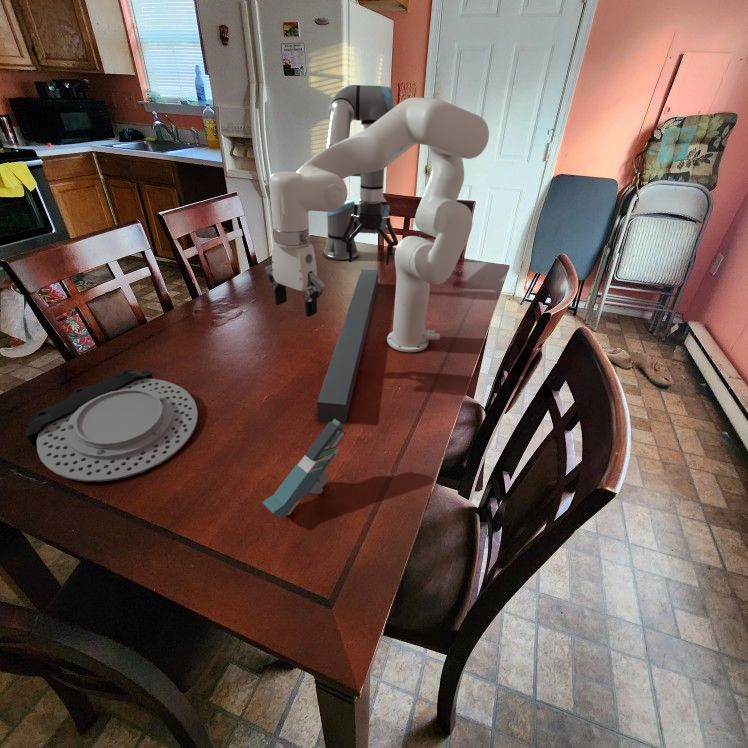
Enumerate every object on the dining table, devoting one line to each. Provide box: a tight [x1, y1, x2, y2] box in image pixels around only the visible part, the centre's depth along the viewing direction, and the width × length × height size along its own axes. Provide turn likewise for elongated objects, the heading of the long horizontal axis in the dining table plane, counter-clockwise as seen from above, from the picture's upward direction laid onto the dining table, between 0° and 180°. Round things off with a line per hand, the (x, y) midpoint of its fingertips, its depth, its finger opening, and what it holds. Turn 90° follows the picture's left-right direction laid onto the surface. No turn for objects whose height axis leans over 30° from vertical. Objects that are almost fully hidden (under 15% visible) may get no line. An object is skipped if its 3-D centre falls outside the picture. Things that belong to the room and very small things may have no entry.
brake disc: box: [23, 369, 199, 483], centre depth 89 cm, size 32×30×5 cm
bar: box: [316, 269, 379, 424], centre depth 127 cm, size 83×6×6 cm, turn 175°
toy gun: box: [262, 419, 346, 520], centre depth 76 cm, size 4×19×10 cm
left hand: (369, 262), depth 151 cm, fingers open, 13 cm apart
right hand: (296, 308), depth 98 cm, fingers open, 9 cm apart
